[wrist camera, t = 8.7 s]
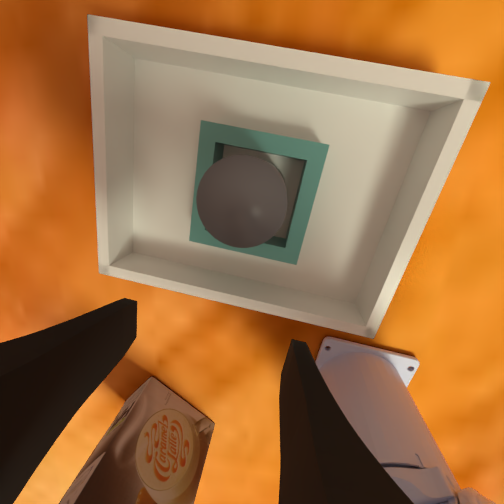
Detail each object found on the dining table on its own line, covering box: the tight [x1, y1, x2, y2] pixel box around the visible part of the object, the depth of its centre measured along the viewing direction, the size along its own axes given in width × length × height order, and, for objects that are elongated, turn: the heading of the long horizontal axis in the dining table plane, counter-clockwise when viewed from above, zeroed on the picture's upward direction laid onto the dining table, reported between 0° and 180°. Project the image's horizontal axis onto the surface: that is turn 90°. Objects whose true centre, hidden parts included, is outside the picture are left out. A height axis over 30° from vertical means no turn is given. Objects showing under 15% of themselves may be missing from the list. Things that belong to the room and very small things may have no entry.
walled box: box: [87, 14, 490, 339], centre depth 16 cm, size 15×20×4 cm
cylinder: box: [196, 155, 287, 248], centre depth 14 cm, size 4×4×7 cm
